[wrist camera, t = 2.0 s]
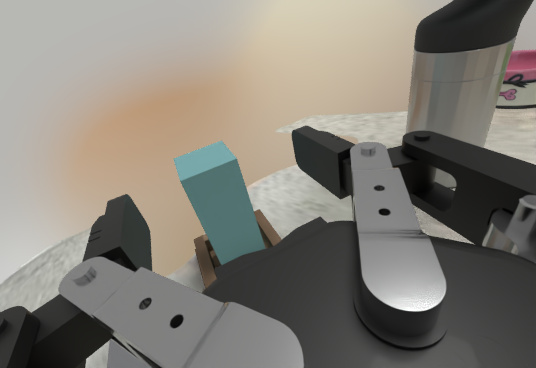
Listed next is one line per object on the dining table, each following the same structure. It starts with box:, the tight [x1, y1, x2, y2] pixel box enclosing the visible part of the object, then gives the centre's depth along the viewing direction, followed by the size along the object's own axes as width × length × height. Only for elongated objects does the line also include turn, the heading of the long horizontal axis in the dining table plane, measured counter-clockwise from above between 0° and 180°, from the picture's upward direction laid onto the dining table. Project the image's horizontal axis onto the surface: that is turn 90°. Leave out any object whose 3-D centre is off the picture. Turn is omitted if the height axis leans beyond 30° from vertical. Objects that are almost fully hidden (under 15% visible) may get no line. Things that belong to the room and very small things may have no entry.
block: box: [174, 141, 265, 265], centre depth 27 cm, size 5×5×14 cm
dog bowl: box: [495, 50, 536, 109], centre depth 52 cm, size 18×19×7 cm
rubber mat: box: [107, 339, 148, 368], centre depth 24 cm, size 9×9×1 cm
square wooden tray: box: [194, 209, 281, 288], centre depth 31 cm, size 10×10×3 cm
